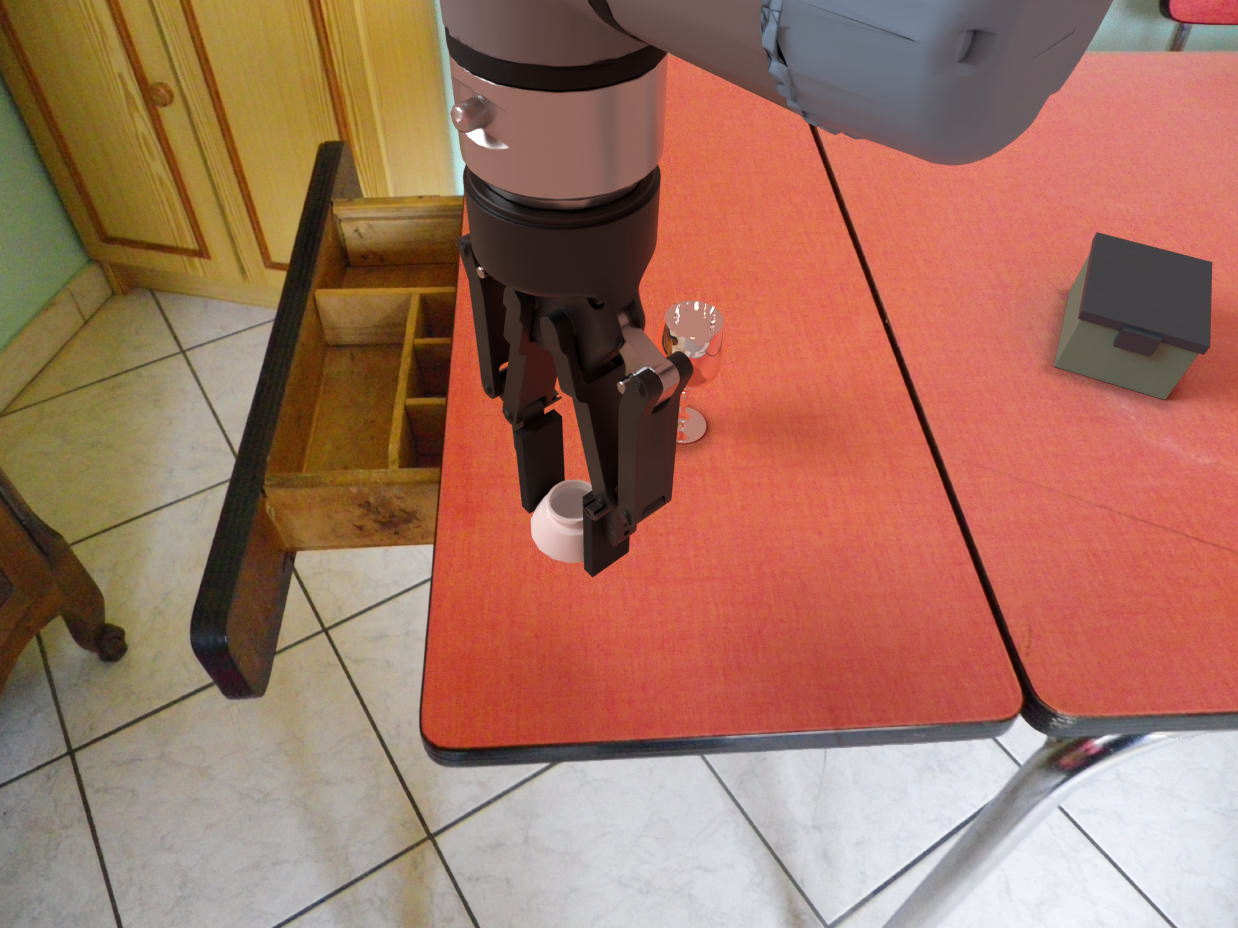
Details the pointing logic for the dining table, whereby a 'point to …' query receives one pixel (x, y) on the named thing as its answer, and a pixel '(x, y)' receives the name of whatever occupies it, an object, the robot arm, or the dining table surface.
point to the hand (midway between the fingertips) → (574, 528)
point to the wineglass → (694, 354)
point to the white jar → (561, 521)
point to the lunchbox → (1136, 316)
